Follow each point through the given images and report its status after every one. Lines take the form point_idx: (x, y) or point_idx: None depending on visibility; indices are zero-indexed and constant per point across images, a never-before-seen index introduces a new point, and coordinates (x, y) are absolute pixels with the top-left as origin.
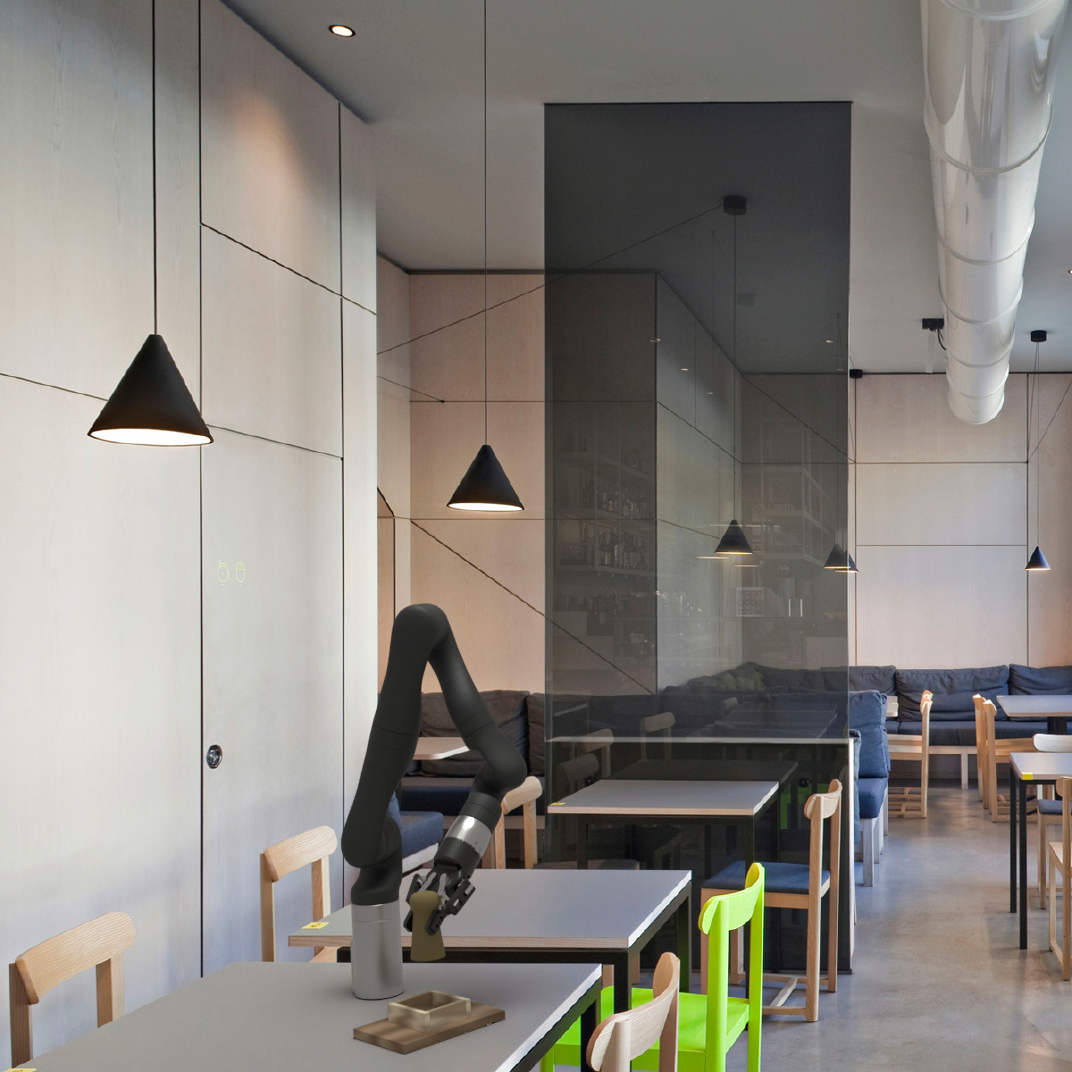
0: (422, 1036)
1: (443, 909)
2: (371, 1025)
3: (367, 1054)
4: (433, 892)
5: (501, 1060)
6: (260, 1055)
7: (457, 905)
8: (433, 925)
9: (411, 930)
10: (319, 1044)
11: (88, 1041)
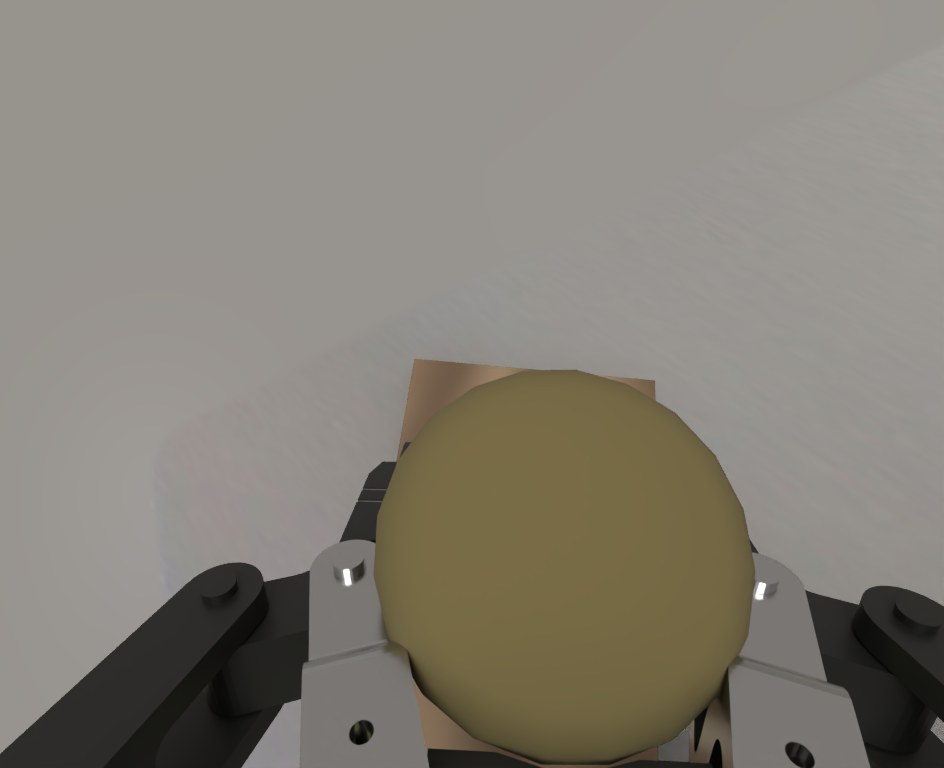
0: (416, 430)
1: (308, 581)
2: None
3: (506, 324)
4: (433, 605)
5: (155, 459)
6: (731, 201)
7: (204, 752)
8: (372, 473)
9: None
10: (681, 313)
11: None
